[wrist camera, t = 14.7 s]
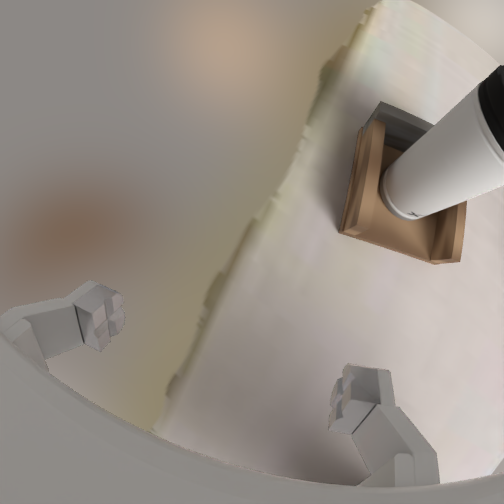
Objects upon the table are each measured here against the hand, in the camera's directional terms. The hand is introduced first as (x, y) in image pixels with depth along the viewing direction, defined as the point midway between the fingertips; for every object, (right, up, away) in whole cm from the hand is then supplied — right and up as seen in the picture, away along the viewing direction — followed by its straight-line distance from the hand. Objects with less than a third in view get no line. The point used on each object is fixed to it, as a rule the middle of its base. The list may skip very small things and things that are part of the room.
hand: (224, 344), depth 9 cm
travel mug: (+17, +9, +17) cm, 26 cm away
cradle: (+17, +9, +18) cm, 27 cm away
